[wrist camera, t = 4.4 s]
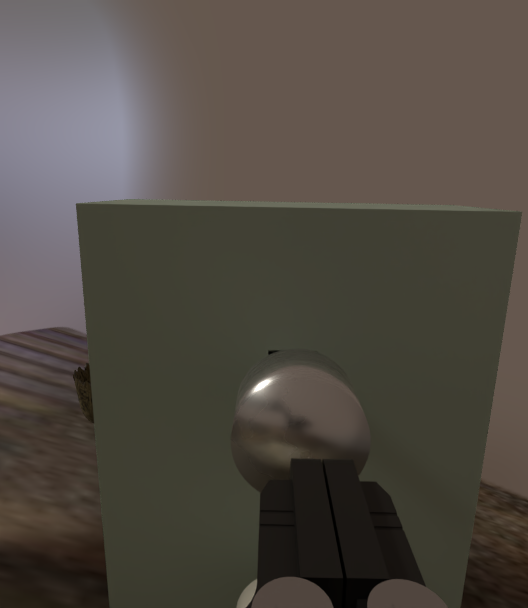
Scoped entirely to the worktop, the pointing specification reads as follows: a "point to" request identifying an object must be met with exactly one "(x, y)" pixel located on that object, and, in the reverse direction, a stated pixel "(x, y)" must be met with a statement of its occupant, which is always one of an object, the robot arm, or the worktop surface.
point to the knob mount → (272, 338)
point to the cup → (84, 391)
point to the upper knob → (296, 416)
